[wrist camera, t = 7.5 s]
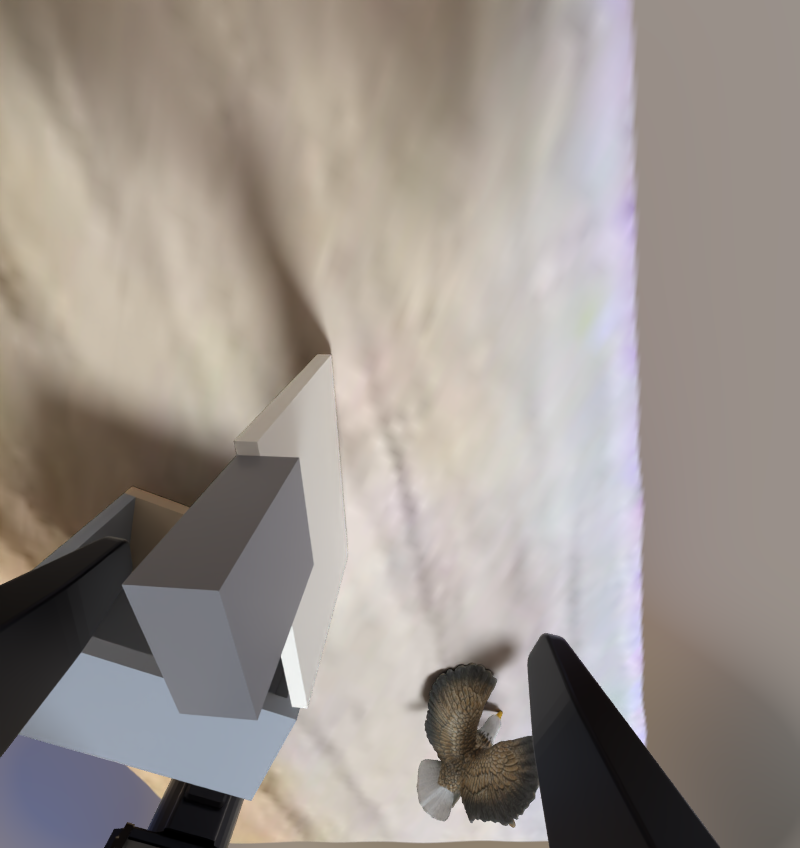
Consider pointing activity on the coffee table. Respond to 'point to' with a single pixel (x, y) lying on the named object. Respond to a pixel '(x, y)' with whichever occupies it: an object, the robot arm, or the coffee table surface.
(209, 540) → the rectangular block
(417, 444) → the coffee table surface
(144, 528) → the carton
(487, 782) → the eagle figurine
